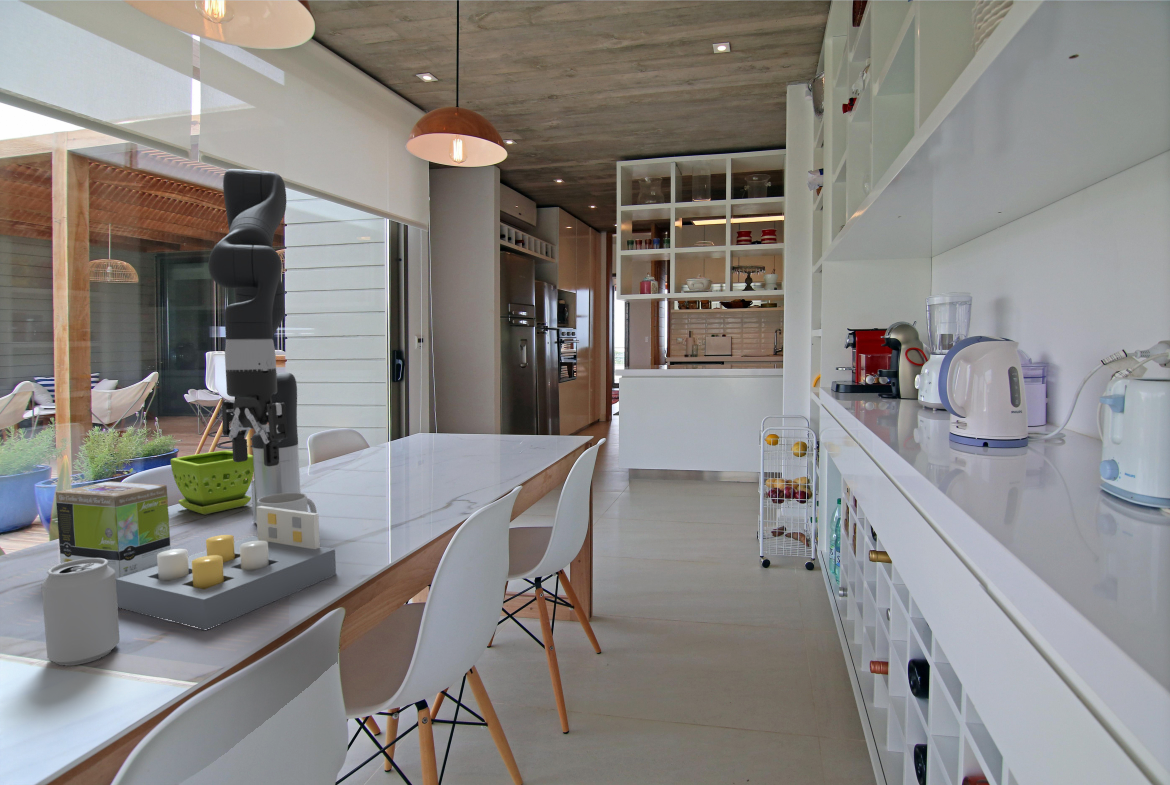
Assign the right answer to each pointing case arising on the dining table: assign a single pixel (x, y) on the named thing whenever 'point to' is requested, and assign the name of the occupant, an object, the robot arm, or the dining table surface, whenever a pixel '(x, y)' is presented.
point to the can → (80, 611)
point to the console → (237, 575)
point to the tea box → (114, 524)
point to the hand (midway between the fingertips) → (256, 463)
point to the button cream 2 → (254, 555)
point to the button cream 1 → (172, 564)
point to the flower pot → (212, 481)
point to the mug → (288, 502)
